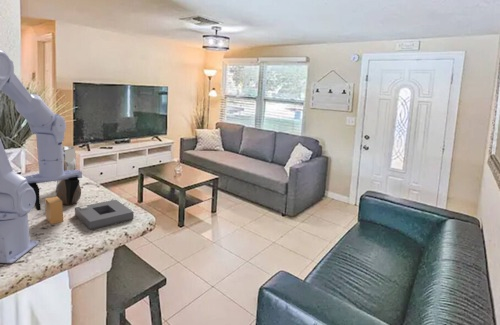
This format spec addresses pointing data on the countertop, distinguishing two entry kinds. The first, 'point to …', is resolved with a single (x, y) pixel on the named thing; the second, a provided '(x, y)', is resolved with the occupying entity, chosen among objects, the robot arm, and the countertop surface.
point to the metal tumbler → (68, 159)
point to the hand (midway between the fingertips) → (54, 206)
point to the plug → (54, 210)
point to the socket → (103, 214)
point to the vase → (62, 193)
